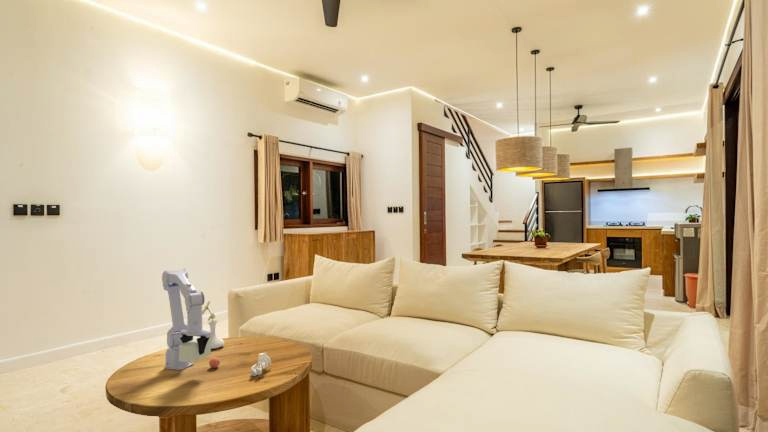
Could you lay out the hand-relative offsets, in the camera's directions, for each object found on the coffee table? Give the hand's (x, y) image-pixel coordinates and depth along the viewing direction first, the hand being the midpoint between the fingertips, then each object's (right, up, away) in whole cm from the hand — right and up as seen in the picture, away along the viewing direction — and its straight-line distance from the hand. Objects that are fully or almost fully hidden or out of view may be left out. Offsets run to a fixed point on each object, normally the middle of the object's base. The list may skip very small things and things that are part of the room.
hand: (195, 353), depth 173 cm
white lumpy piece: (+26, -10, 0) cm, 28 cm away
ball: (+3, -8, +11) cm, 14 cm away
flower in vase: (-9, -11, +39) cm, 42 cm away
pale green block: (0, -2, 0) cm, 2 cm away
